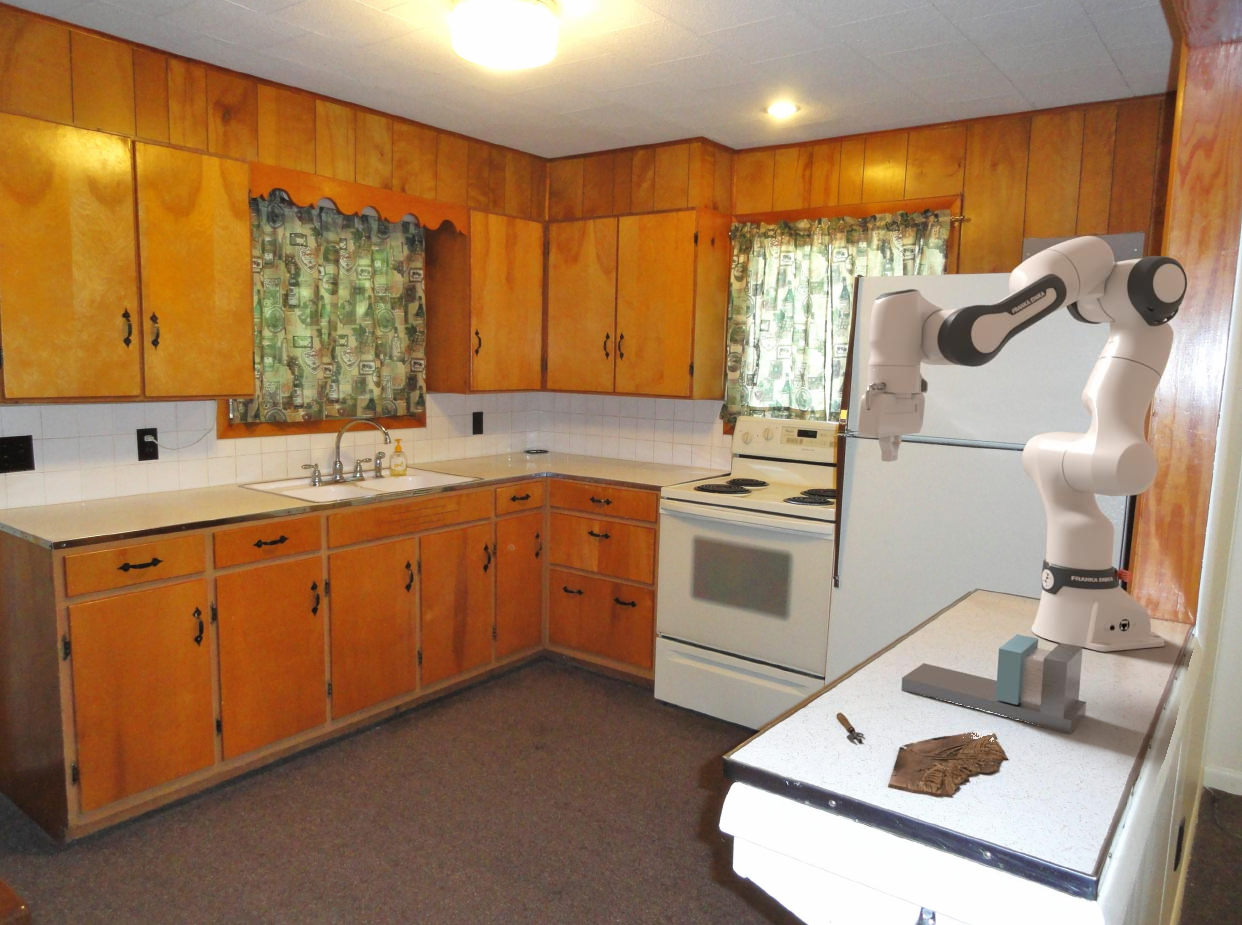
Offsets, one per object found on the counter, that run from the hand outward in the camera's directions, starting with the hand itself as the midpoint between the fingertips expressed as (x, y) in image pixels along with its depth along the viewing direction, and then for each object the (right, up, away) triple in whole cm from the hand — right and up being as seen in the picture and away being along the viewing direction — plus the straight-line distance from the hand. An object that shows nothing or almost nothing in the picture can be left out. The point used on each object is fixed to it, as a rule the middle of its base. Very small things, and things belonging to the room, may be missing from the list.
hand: (889, 460), depth 148 cm
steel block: (+13, -35, -26) cm, 46 cm away
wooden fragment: (-5, -39, -40) cm, 57 cm away
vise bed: (+8, -37, -22) cm, 43 cm away
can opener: (-16, -38, -32) cm, 53 cm away
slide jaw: (+11, -35, -24) cm, 44 cm away
